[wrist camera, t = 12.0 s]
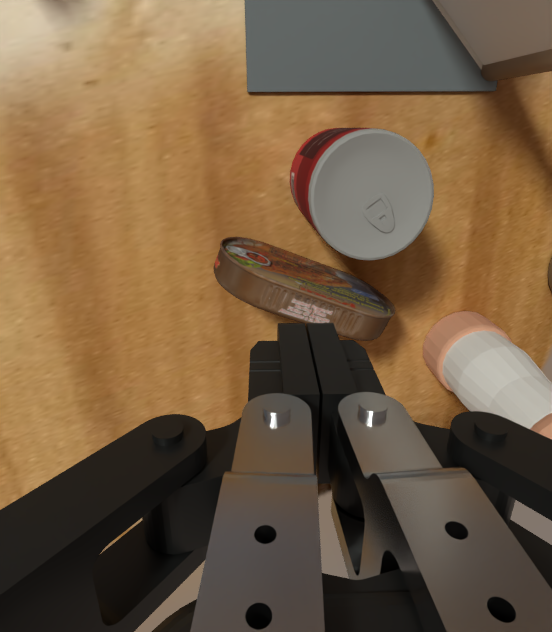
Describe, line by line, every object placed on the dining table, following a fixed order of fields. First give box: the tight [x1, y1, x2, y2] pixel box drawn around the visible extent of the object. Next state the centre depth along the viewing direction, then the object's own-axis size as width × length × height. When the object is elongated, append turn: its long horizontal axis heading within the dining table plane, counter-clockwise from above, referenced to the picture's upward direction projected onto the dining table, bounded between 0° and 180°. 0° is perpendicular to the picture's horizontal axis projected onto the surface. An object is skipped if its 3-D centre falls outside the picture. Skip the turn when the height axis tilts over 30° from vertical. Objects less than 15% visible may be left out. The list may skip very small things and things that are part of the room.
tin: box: [214, 237, 395, 341], centre depth 37 cm, size 15×3×8 cm, turn 68°
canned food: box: [290, 128, 434, 260], centre depth 33 cm, size 8×8×11 cm
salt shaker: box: [423, 311, 552, 439], centre depth 36 cm, size 7×7×19 cm
